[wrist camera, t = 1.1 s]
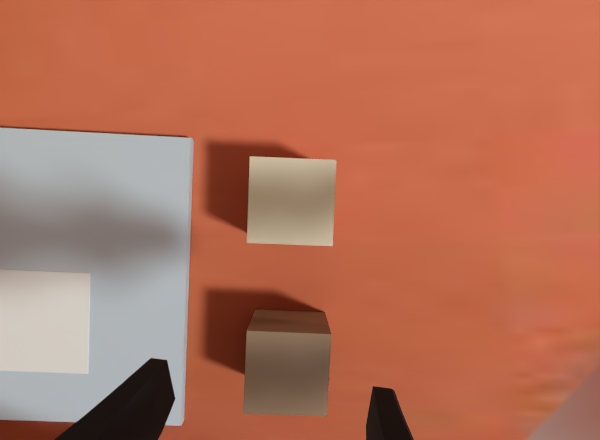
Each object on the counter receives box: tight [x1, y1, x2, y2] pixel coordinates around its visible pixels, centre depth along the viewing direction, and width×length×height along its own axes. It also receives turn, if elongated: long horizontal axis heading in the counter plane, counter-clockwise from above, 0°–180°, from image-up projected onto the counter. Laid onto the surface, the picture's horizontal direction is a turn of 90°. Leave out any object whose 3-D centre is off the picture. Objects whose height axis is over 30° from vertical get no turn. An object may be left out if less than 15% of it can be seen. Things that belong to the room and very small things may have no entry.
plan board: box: [0, 128, 194, 426], centre depth 21 cm, size 20×16×1 cm
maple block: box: [247, 156, 336, 246], centre depth 20 cm, size 5×5×4 cm
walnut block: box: [243, 309, 331, 416], centre depth 20 cm, size 5×5×4 cm
